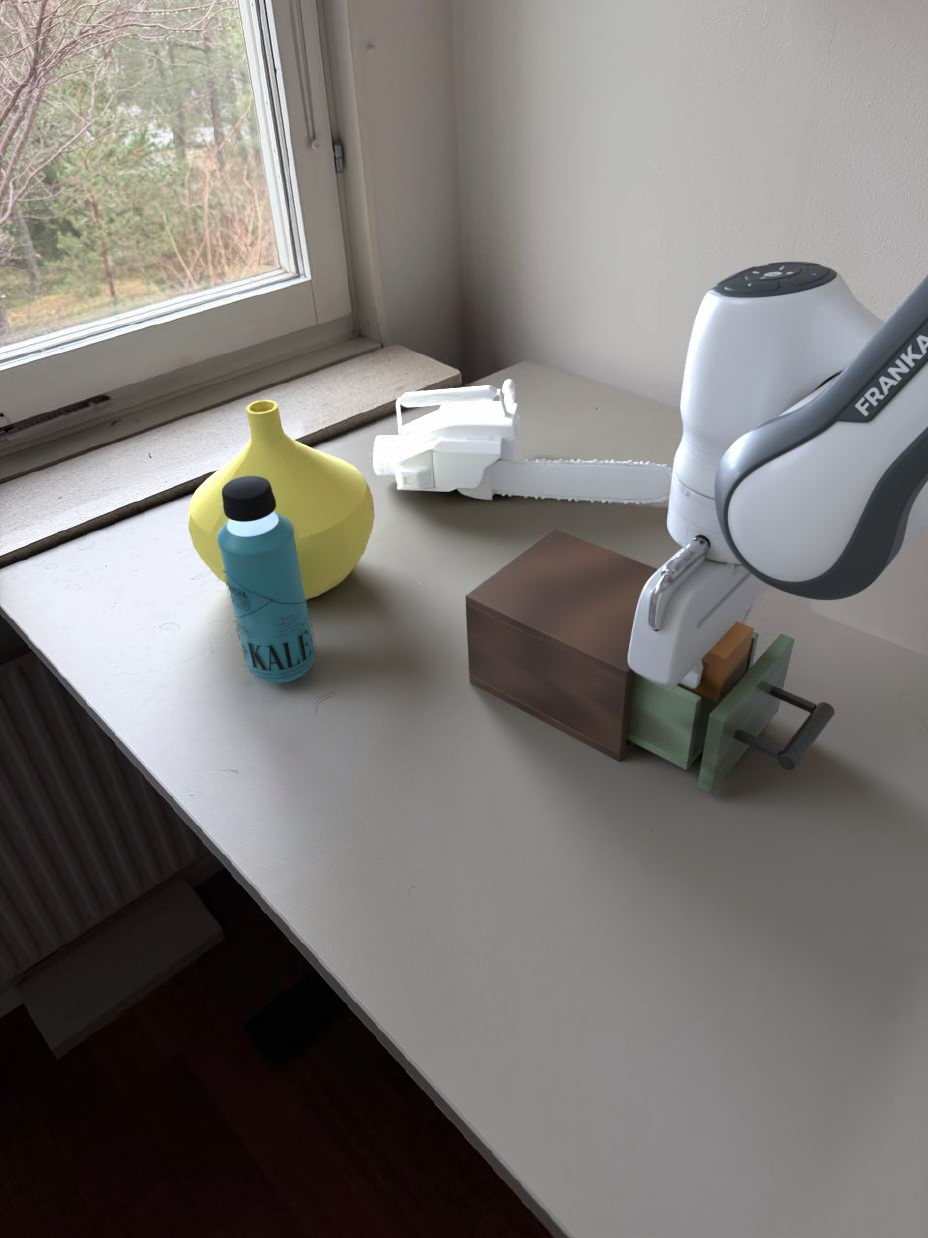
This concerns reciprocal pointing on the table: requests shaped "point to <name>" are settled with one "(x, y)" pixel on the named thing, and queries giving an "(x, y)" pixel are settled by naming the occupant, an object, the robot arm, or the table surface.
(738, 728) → the drawer
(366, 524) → the vase
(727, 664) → the block
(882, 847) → the table surface
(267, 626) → the beverage bottle
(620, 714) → the cabinet
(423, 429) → the chainsaw
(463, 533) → the table surface
